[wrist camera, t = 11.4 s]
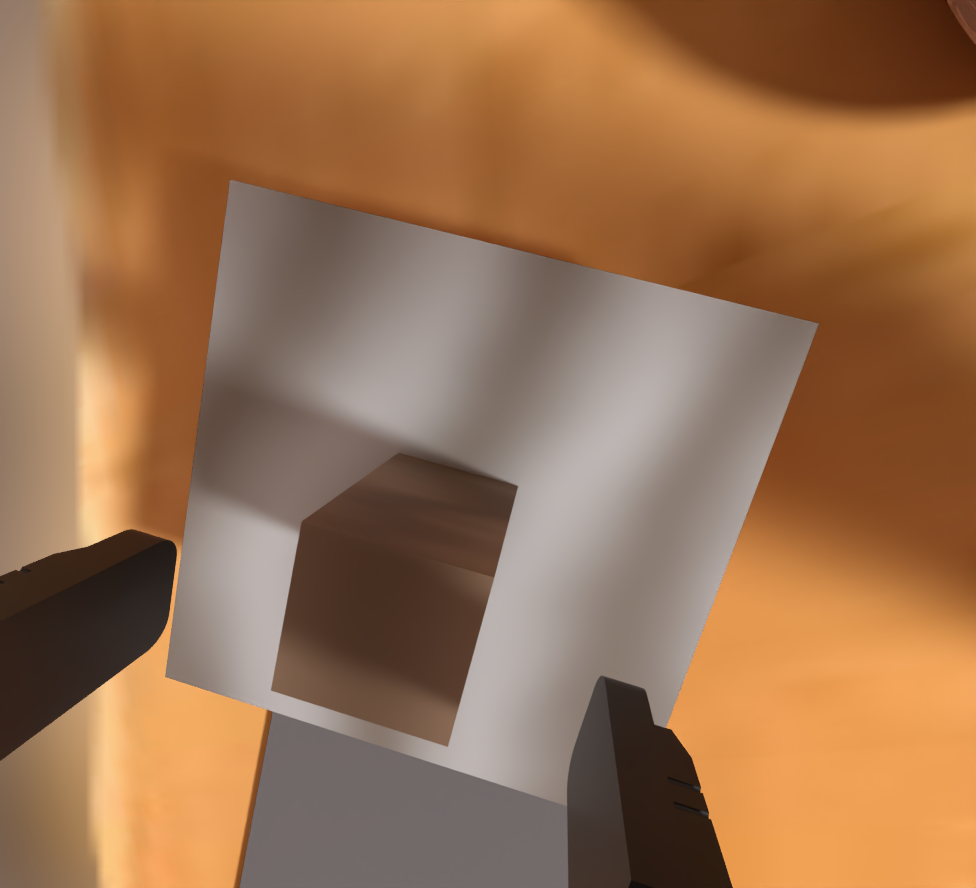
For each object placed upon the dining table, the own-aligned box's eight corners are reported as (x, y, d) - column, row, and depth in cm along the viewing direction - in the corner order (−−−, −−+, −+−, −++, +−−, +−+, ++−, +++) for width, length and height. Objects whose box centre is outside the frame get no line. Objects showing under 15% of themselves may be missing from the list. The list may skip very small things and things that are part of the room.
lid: (804, 324, 14) (1025, 309, 7) (625, 804, 18) (667, 1085, 11) (246, 187, 15) (8, 69, 9) (181, 662, 19) (-25, 839, 12)
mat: (686, 765, 24) (688, 772, 23) (568, 1060, 28) (568, 1070, 27) (289, 641, 25) (285, 645, 25) (232, 939, 29) (227, 947, 29)
